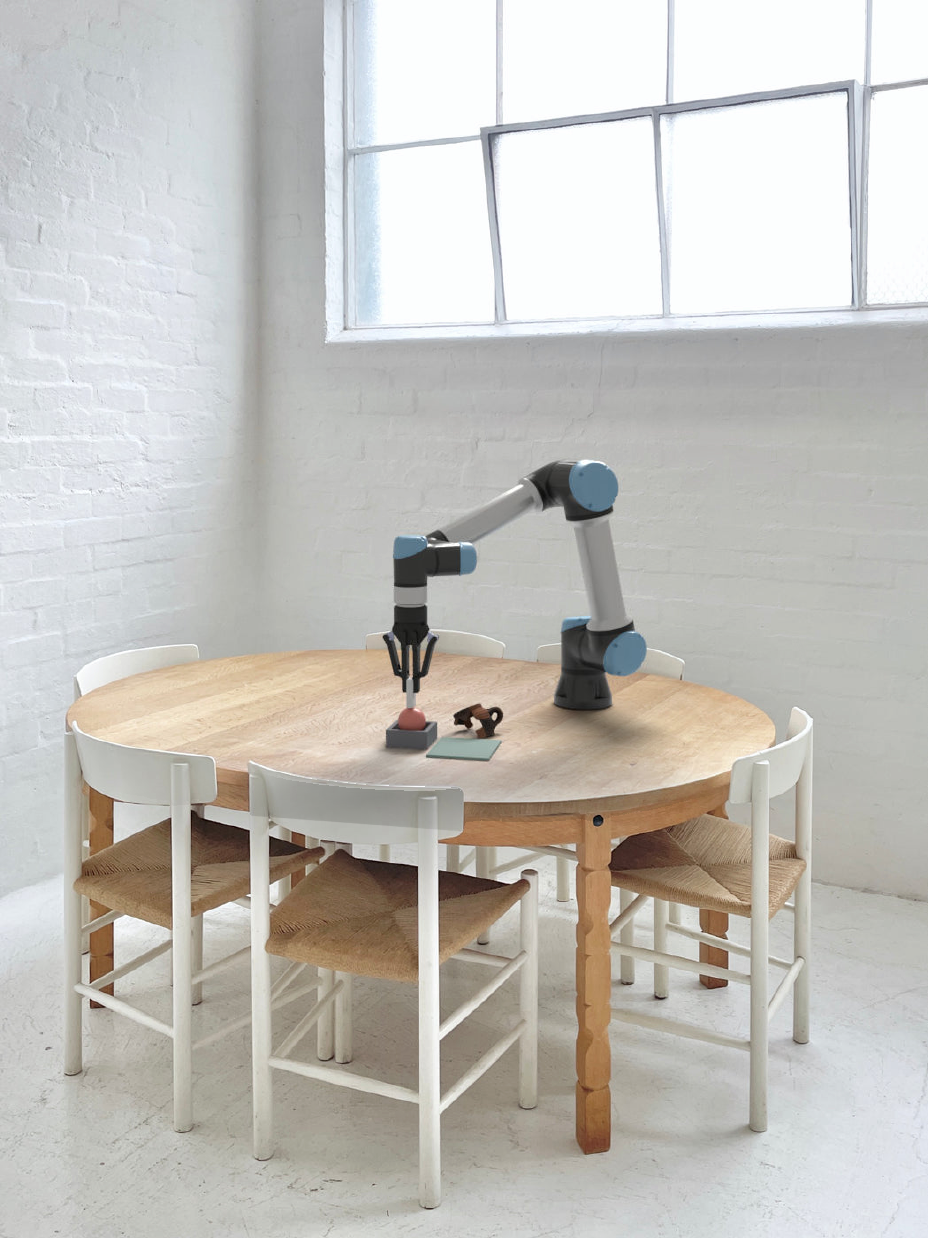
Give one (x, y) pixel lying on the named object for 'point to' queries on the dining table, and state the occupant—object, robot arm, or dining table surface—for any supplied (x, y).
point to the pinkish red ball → (412, 719)
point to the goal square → (464, 748)
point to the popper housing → (411, 736)
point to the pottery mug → (479, 714)
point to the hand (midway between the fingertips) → (411, 706)
